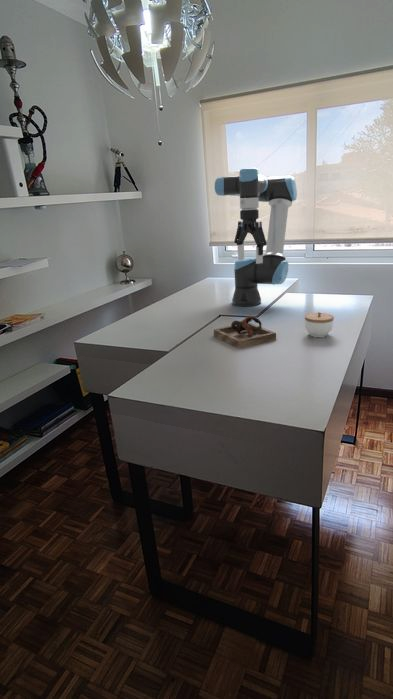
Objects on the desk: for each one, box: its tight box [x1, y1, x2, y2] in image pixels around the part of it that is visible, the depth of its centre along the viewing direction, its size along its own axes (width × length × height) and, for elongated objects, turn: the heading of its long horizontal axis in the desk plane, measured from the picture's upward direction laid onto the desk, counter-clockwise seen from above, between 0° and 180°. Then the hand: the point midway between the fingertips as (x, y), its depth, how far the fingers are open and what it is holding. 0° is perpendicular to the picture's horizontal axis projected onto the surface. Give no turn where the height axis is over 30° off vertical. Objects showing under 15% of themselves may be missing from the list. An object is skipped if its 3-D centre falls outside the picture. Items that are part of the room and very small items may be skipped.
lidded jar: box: [304, 311, 335, 338], centre depth 163 cm, size 11×11×9 cm
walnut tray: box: [213, 322, 277, 350], centre depth 166 cm, size 19×17×3 cm
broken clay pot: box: [230, 315, 263, 338], centre depth 167 cm, size 12×10×8 cm
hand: (250, 261), depth 178 cm, fingers open, 13 cm apart
